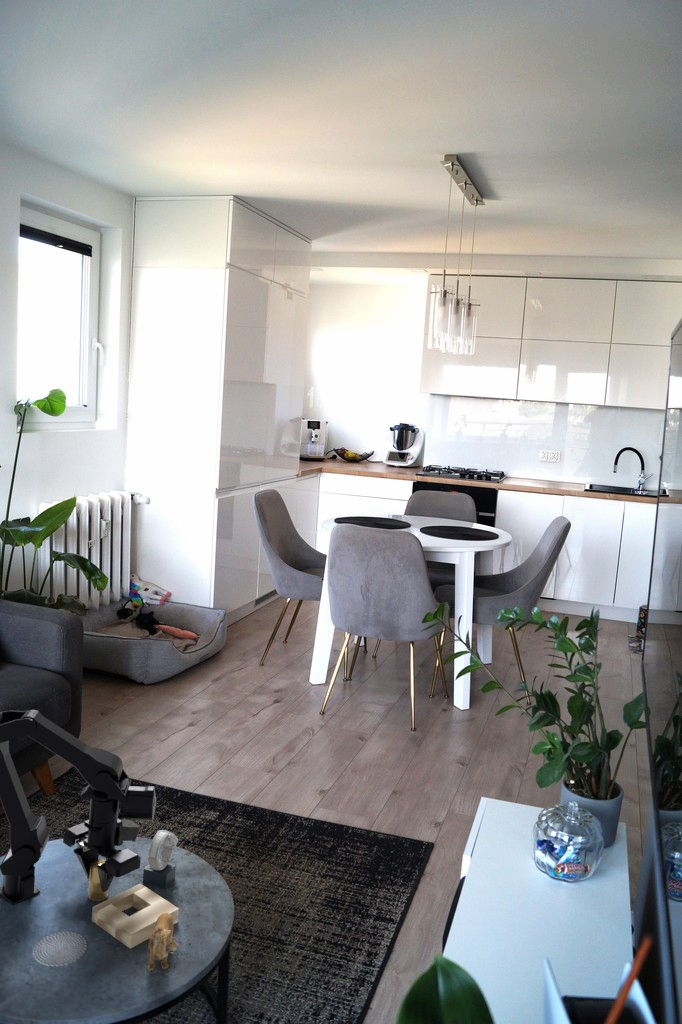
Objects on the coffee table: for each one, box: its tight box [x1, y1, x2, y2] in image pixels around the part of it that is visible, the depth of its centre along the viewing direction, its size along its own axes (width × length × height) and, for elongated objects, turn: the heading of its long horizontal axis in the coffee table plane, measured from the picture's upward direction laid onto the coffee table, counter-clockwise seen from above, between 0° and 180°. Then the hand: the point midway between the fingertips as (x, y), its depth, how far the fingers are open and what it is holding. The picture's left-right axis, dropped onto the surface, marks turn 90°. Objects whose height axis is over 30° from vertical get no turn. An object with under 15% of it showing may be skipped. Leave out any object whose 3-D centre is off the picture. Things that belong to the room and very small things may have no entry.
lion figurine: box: [146, 913, 179, 972], centre depth 163 cm, size 15×5×9 cm, turn 13°
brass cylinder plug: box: [87, 858, 109, 902], centre depth 180 cm, size 4×4×7 cm
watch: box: [142, 829, 179, 889], centre depth 188 cm, size 6×8×11 cm
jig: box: [91, 883, 180, 949], centre depth 173 cm, size 12×12×3 cm
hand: (98, 886), depth 180 cm, fingers closed on brass cylinder plug, 4 cm apart
